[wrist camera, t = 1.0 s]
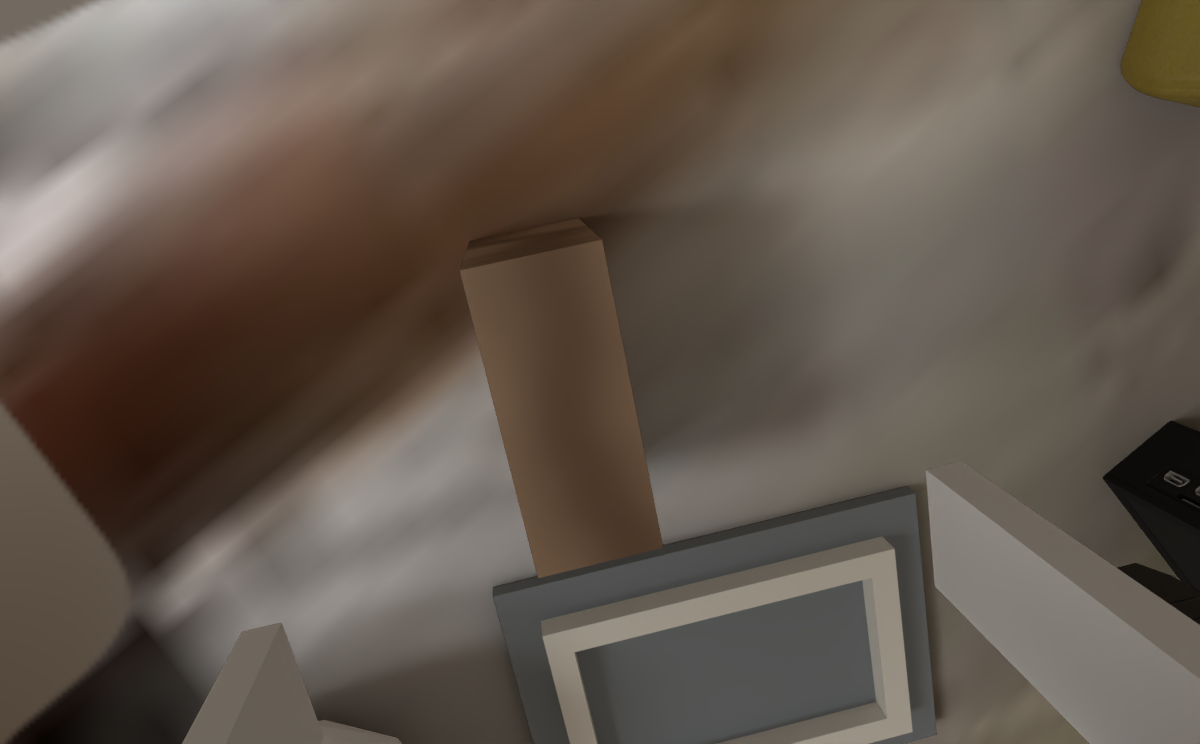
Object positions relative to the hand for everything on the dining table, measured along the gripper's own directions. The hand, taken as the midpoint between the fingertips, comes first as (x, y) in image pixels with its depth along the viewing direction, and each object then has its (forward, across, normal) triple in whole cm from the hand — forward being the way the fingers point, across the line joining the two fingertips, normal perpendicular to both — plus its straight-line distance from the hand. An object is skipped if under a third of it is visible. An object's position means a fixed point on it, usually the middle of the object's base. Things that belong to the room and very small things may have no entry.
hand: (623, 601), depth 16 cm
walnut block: (+19, 0, 0) cm, 19 cm away
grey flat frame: (+19, +5, -17) cm, 26 cm away
